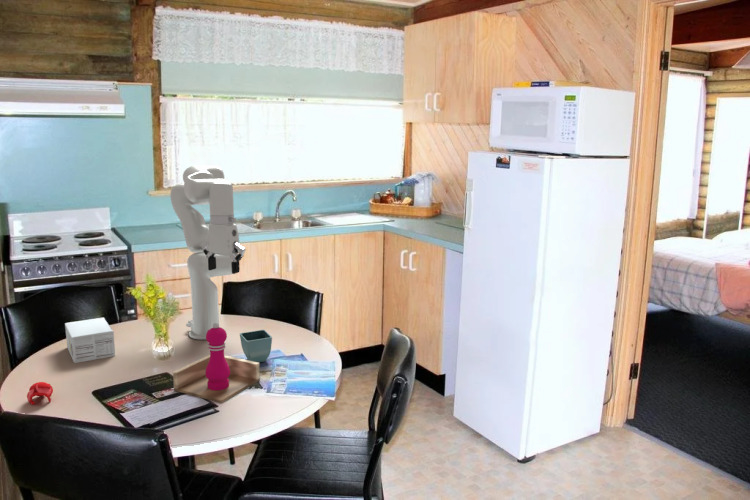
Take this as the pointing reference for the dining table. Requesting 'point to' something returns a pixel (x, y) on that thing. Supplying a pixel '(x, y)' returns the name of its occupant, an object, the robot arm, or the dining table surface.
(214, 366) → the pepper mill
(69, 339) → the supplement box
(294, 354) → the dining table surface
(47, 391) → the red curved piece
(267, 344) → the flower pot
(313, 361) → the dining table surface
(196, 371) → the corner fence
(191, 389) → the board
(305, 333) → the dining table surface
